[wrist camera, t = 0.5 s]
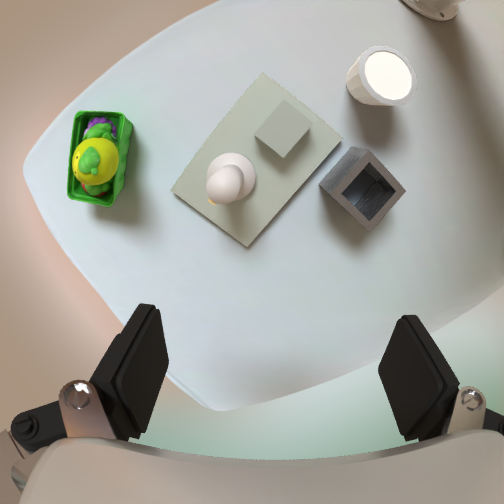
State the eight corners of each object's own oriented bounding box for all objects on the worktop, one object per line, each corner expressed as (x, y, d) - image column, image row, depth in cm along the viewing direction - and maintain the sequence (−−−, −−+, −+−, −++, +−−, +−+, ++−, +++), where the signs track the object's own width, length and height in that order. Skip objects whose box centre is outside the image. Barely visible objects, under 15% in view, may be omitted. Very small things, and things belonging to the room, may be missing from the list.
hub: (351, 146, 31) (368, 149, 26) (385, 181, 33) (406, 191, 27) (318, 183, 33) (329, 194, 28) (353, 216, 35) (369, 232, 29)
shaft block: (262, 74, 28) (262, 54, 20) (340, 137, 31) (365, 140, 23) (173, 188, 34) (146, 206, 26) (247, 243, 37) (242, 277, 29)
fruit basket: (95, 110, 30) (41, 111, 20) (151, 115, 30) (106, 111, 20) (86, 189, 35) (36, 213, 24) (138, 199, 35) (95, 228, 25)
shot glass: (360, 49, 26) (381, 33, 19) (400, 85, 27) (427, 79, 21) (329, 83, 28) (345, 72, 22) (371, 120, 30) (395, 119, 23)
